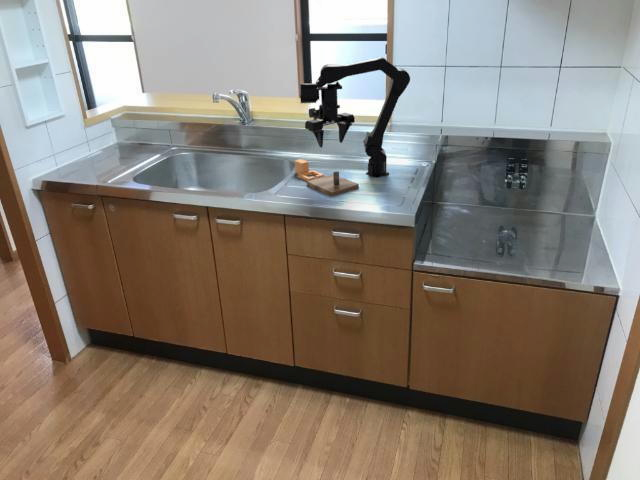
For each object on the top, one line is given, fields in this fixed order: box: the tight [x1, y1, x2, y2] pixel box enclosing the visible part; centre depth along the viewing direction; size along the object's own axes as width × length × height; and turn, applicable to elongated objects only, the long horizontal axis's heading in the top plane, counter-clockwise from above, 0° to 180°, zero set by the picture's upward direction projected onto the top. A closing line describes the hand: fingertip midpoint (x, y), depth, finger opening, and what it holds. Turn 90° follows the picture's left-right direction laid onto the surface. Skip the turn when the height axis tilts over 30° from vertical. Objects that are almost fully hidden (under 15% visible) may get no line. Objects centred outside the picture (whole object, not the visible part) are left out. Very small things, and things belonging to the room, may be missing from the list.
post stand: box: [306, 171, 360, 197], centre depth 184 cm, size 15×12×6 cm
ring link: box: [294, 158, 325, 182], centre depth 196 cm, size 12×7×5 cm, turn 36°
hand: (331, 144), depth 191 cm, fingers open, 9 cm apart
